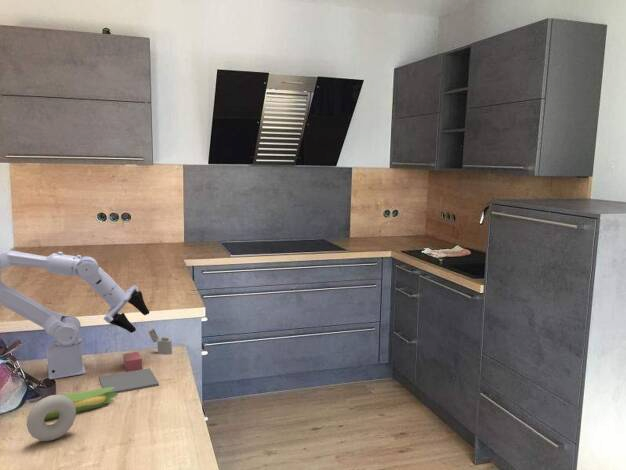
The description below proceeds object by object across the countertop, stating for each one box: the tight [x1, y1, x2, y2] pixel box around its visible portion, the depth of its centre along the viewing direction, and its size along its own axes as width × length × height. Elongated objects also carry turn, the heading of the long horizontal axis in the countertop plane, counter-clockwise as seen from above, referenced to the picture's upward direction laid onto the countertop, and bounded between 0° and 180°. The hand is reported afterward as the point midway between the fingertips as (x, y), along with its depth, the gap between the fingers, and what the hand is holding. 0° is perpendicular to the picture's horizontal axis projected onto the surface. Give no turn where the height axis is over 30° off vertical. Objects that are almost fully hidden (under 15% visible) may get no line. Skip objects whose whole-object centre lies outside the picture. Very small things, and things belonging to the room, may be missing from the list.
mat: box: [98, 367, 160, 394], centre depth 144 cm, size 14×12×1 cm
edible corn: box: [36, 387, 119, 421], centre depth 126 cm, size 5×20×5 cm
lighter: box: [148, 327, 173, 355], centre depth 166 cm, size 7×2×8 cm, turn 88°
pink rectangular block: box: [122, 351, 143, 372], centre depth 154 cm, size 4×6×4 cm
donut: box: [26, 394, 77, 442], centre depth 113 cm, size 10×4×10 cm, turn 135°
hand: (140, 322), depth 155 cm, fingers open, 7 cm apart
